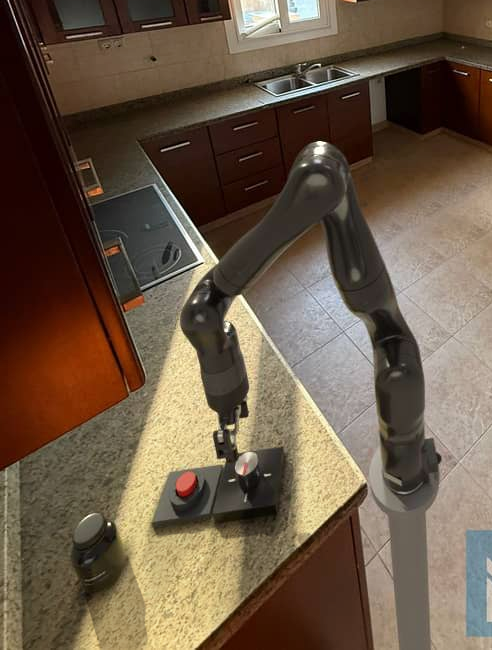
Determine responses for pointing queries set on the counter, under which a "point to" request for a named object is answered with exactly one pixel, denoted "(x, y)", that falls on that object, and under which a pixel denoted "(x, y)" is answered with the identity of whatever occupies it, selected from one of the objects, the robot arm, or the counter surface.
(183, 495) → the power button
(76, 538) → the supplement bottle
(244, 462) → the stove knob
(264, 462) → the stove panel
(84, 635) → the counter surface
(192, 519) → the button housing
